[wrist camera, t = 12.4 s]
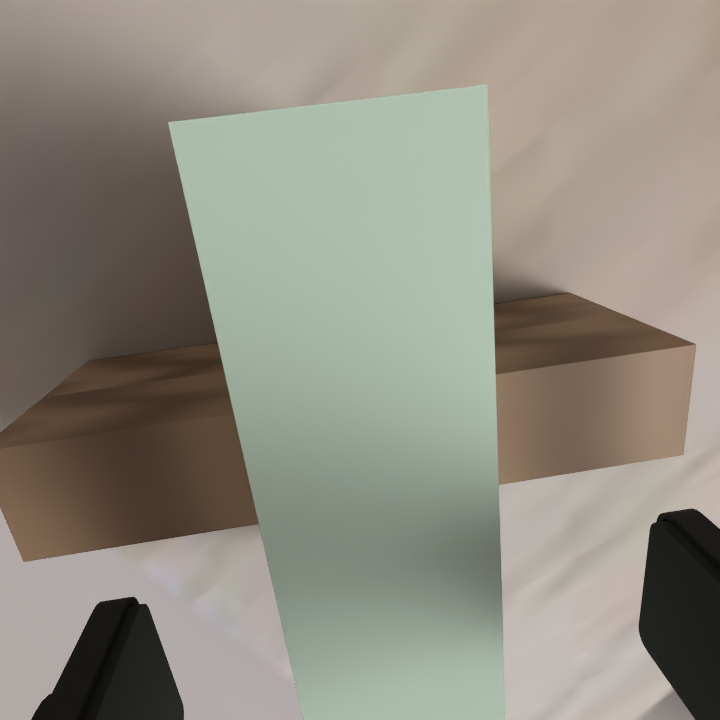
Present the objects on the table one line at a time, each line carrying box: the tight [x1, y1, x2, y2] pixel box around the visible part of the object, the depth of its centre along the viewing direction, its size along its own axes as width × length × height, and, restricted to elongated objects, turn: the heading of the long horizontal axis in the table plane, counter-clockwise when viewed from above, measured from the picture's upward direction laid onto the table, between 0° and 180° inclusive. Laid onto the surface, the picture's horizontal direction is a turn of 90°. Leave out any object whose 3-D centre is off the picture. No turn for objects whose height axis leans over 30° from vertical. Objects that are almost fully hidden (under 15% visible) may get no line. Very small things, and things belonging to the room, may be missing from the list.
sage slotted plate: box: [168, 85, 505, 720], centre depth 16 cm, size 18×4×15 cm, turn 7°
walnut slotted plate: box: [0, 293, 696, 562], centre depth 20 cm, size 22×4×8 cm, turn 97°
